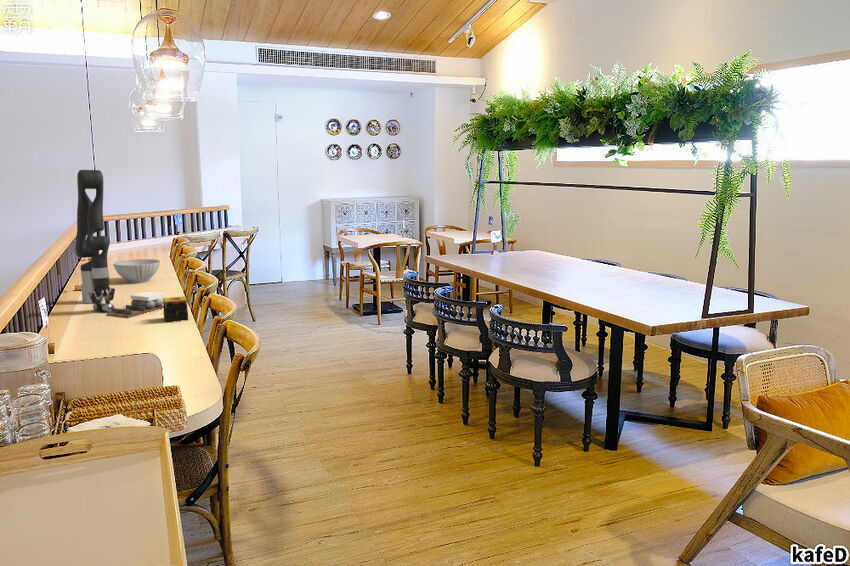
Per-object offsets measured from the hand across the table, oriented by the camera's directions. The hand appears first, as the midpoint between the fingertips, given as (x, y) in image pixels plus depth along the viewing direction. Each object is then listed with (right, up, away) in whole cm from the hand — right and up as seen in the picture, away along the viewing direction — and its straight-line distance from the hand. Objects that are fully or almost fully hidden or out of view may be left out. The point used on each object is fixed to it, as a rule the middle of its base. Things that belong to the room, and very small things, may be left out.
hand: (103, 310), depth 324 cm
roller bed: (+17, -1, -1) cm, 17 cm away
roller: (0, -1, 0) cm, 1 cm away
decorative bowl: (-20, +14, +84) cm, 87 cm away
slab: (+20, +6, +5) cm, 21 cm away
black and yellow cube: (+43, -4, -17) cm, 46 cm away
